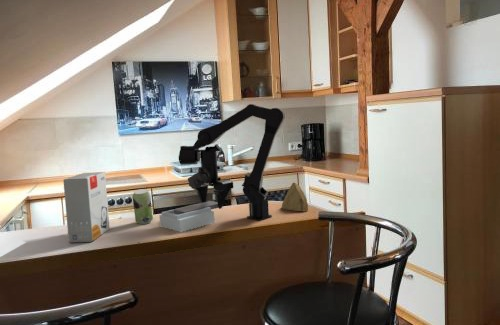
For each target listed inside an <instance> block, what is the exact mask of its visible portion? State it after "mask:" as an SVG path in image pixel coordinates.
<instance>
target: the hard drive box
mask: <svg viewBox="0 0 500 325" xmlns="http://www.w3.org/2000/svg"><path fill="white" fill-rule="evenodd" d="M106 181H107V180H106V172H105V171H99V172H98V171H96V172H95V171H93V172H83V173H79V174H76V175H73V176H70V177H66V178H64V179H63V190H64V202H65V203H64V204H65V213H66V225H67V237H68V238H67V240H68V243H92V242H94V241H95V240H97V239H98V238H99V237H100V236H102V235H103V234H104V233H107V231H109V230H110V227H111V226H110V217H109V204H108V195H107V194H108V192H107V182H106Z"/></svg>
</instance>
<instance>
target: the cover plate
mask: <svg viewBox="0 0 500 325" xmlns="http://www.w3.org/2000/svg"><path fill="white" fill-rule="evenodd" d="M190 205H191V206H190ZM190 205H186V206H187V207H186V206H183V207H178V209H177V208H175V209H174V214H177V215H179V214H183V213H187V212H191V211H195V210H199V209H203V208H207V207H211V211H213V210H215V209H219V207H218V201H213V200H208V201H206V202H203V203H201V202H199V203H195V205H194V204H190Z"/></svg>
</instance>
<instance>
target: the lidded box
mask: <svg viewBox="0 0 500 325" xmlns="http://www.w3.org/2000/svg"><path fill="white" fill-rule="evenodd" d="M195 204H196V203H195ZM195 204H193V205H195ZM191 205H192V204H190V205H189V206H191ZM187 206H188V205H186V206H185V207H187ZM178 208H179V207H178ZM178 208H176V209H178ZM159 223H160V224H159V226H162V227H161V228H164V227H166V228H165V229H167V228H170V229H169V230H171V229H173V230H172V231H174V230H176V231H175V232H178V231H179V232H178V233H183V231H184V232H187V231H186V230H188V231H190V230H189V229H191V230H194V229H193V228H195V229H198V228H201V226H202V227H205V226H208V225H207V224H209V225H211V223H212V224H215V211H213V210H211V207H207V208H203V209H199V210H195V211H191V212H187V213H183V214H179V215H177V214H174V209H170V210H165V211H161V214H159ZM204 225H205V226H204ZM197 227H198V228H197Z"/></svg>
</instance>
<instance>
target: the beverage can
mask: <svg viewBox="0 0 500 325" xmlns="http://www.w3.org/2000/svg"><path fill="white" fill-rule="evenodd" d="M132 202H133V203H132V204H133V210H134V212H133V213H134V221H135V222H136V223H138V224H139V225H146V224H149V223H151V221H153V220H154V217H153V208H152V207H153V206H152V199H151V194H150V192H149V190H148V189H146V188H140V189H136V190H134V191H133V193H132Z"/></svg>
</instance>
